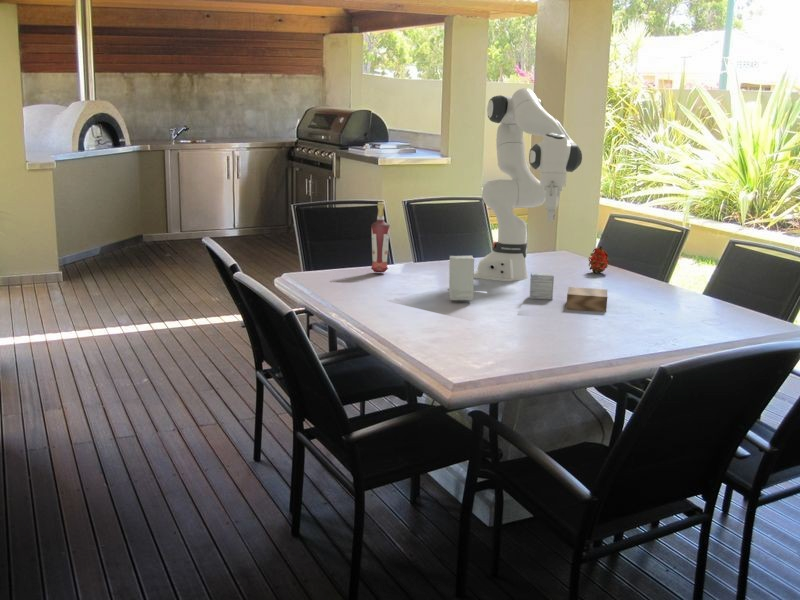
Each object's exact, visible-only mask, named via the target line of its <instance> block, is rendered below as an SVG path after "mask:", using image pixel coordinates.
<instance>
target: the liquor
mask: <svg viewBox="0 0 800 600" xmlns="http://www.w3.org/2000/svg"><path fill="white" fill-rule="evenodd" d="M376 207H377V217H376V221H374V222H373V223H371V227H370V228H371V260H372V261H371V262H372V263H371V268H370V269H371V270H372V271H373V272H375V273H385V272H386V271H387V270H389V268H388V253H389V252H388V251H389V240H390V239H389V238H390V224H389V223H388V222H386V221H385V215H384V211H385V210H384V209H385V202H384V201H377V205H376Z"/></svg>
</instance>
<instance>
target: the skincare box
mask: <svg viewBox="0 0 800 600" xmlns="http://www.w3.org/2000/svg"><path fill="white" fill-rule="evenodd" d="M448 265H449V277H448V278H449V279H448V280H449V285H448V287H449V289H448V291H449V293H448V294H449V295H448V296H449V298H450V300H451V301H455V300H457V301H459V300H464V301H465V300H466V301H467V300H468V301H469V300H471V301H472V300H474V287H475V285H474V284H475V283H474V281H475V280H474V279H475V278H474V271H475V258H474V257H473V255H449V264H448Z"/></svg>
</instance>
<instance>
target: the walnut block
mask: <svg viewBox="0 0 800 600" xmlns="http://www.w3.org/2000/svg"><path fill="white" fill-rule="evenodd" d="M565 306H566V310H575V311H577V310H579V311H589V312H590V311H591V312H592V311H593V312H594V311H595V312H607V306H608V289H603V288H590V287H577V286H576V287H575V286H569V287H568V291H567V294H566V305H565Z"/></svg>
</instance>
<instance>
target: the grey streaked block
mask: <svg viewBox="0 0 800 600" xmlns="http://www.w3.org/2000/svg"><path fill="white" fill-rule="evenodd" d="M554 278H555V276H554V274H553V273H543V272H542V273H541V272H539V273H538V272H531V273H530V281H529V282H530V283H529V299H530V300H550V301H551V300H553V297H554V295H553V293H554V282H555V280H554Z"/></svg>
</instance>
